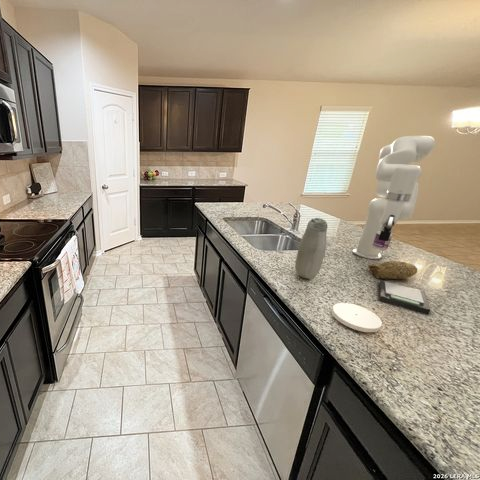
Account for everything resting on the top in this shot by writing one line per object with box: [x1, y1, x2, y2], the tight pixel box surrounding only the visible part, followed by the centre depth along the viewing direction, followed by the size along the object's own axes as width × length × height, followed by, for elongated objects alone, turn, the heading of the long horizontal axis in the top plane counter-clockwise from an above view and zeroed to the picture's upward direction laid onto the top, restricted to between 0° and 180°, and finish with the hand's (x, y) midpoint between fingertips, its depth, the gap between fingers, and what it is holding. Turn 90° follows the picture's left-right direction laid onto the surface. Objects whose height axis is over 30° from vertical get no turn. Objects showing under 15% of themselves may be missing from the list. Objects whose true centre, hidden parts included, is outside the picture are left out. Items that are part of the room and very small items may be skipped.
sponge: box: [368, 260, 418, 280], centre depth 118 cm, size 13×8×20 cm
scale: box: [378, 279, 431, 316], centre depth 101 cm, size 16×14×3 cm
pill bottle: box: [372, 226, 393, 251], centre depth 110 cm, size 5×5×10 cm
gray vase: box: [294, 217, 328, 279], centre depth 113 cm, size 10×10×28 cm
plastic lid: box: [331, 302, 383, 333], centre depth 88 cm, size 14×14×2 cm
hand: (383, 238), depth 110 cm, fingers closed on pill bottle, 5 cm apart
